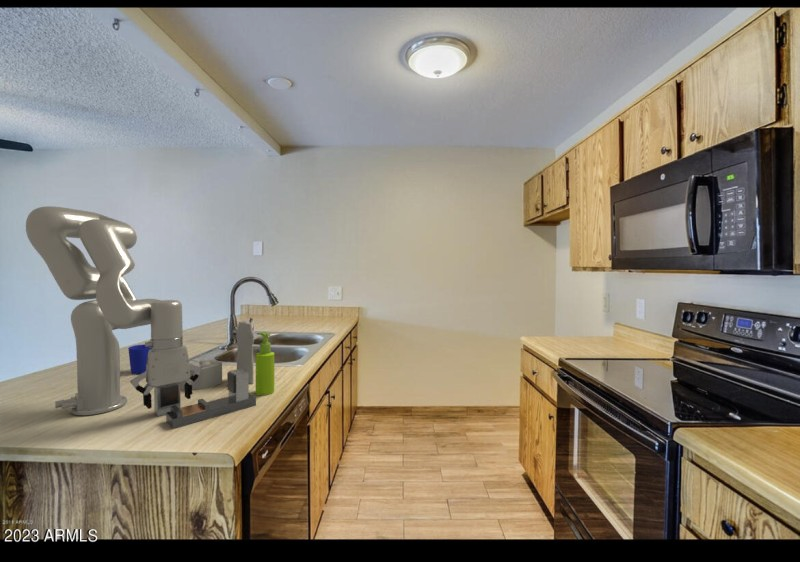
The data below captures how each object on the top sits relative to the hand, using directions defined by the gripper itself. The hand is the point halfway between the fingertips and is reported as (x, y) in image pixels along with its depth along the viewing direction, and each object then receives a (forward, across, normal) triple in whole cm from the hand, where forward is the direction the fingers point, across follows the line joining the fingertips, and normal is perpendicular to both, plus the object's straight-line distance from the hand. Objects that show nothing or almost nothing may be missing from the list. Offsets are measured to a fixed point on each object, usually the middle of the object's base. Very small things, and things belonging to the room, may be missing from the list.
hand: (168, 402), depth 101 cm
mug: (+2, +5, +48) cm, 49 cm away
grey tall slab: (+3, +27, +11) cm, 29 cm away
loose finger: (+3, 0, 0) cm, 3 cm away
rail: (+3, +9, -10) cm, 13 cm away
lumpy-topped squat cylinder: (+3, +14, +18) cm, 23 cm away
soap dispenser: (+3, +27, -4) cm, 27 cm away
